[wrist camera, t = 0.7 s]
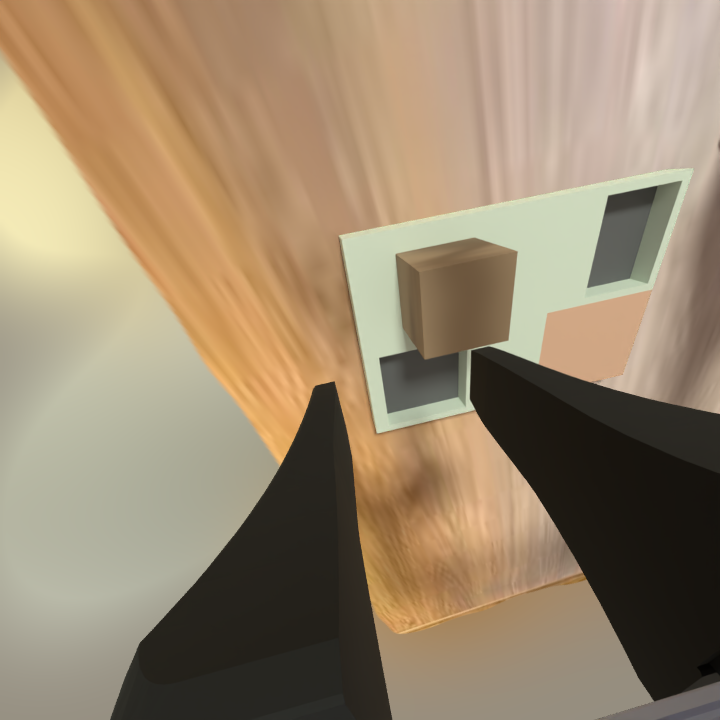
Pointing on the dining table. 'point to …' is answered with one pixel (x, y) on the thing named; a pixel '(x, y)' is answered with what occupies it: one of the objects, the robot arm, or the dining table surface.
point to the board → (520, 288)
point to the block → (456, 295)
